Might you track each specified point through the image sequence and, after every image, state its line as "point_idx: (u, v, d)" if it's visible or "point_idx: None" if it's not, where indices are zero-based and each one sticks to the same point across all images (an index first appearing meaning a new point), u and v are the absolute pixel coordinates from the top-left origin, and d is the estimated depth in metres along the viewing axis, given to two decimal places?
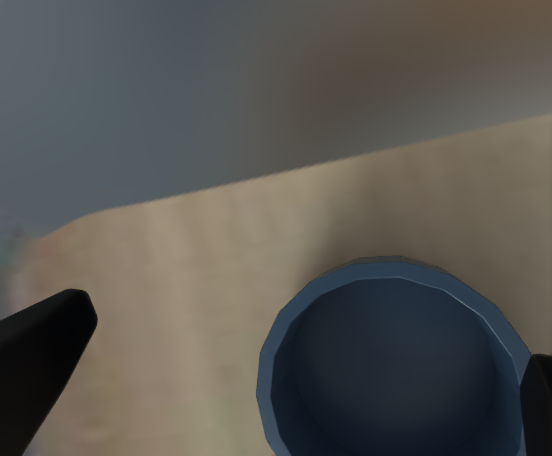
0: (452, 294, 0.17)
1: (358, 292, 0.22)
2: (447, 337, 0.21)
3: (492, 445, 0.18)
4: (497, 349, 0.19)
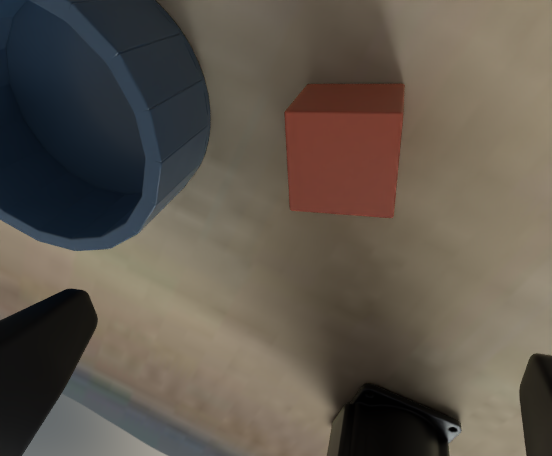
0: None
1: (25, 69, 0.21)
2: None
3: None
4: None
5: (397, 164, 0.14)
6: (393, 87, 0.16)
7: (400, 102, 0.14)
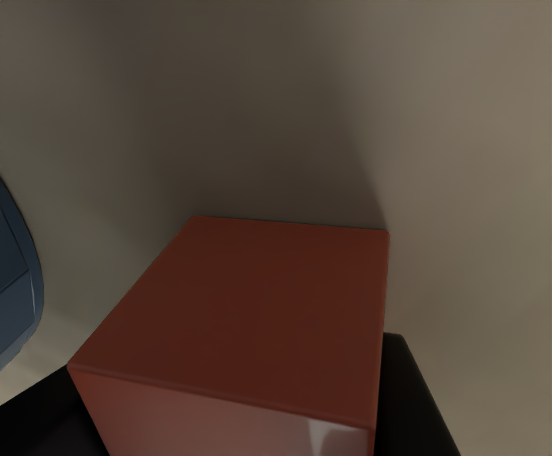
0: None
1: None
2: None
3: None
4: None
5: None
6: (363, 248, 0.07)
7: (372, 343, 0.05)
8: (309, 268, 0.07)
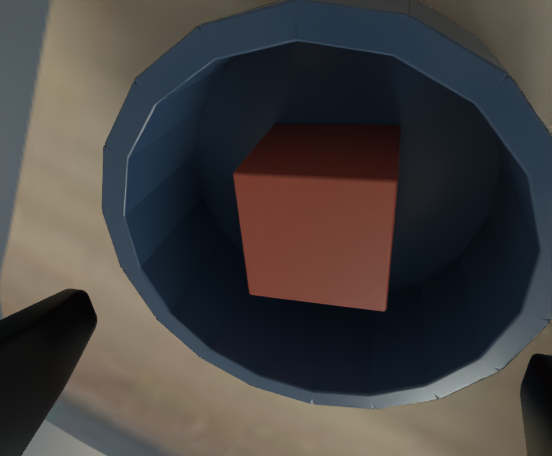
0: (227, 53, 0.08)
1: (225, 135, 0.14)
2: (362, 83, 0.12)
3: (513, 178, 0.10)
4: None
5: (390, 246, 0.10)
6: (385, 131, 0.12)
7: (394, 160, 0.10)
8: (354, 139, 0.12)
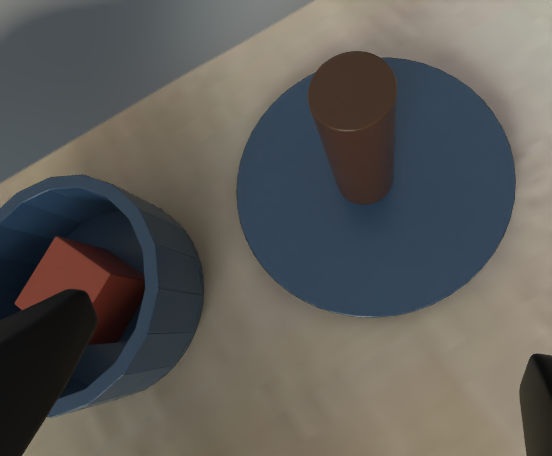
0: (84, 187, 0.21)
1: (81, 241, 0.26)
2: None
3: None
4: None
5: None
6: (141, 276, 0.23)
7: (123, 274, 0.21)
8: (124, 267, 0.23)
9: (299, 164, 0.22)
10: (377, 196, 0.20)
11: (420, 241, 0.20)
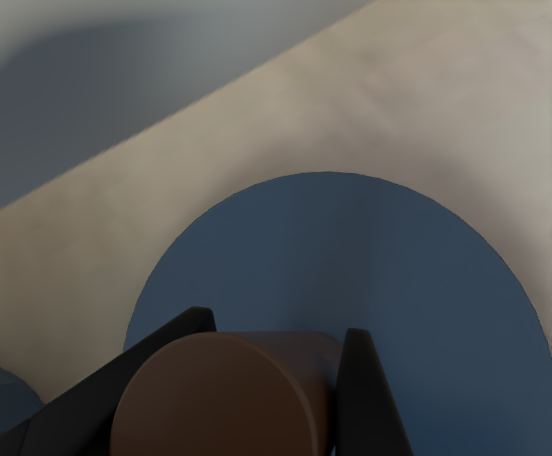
0: None
1: None
2: None
3: None
4: None
5: None
6: None
7: None
8: None
9: None
10: None
11: None
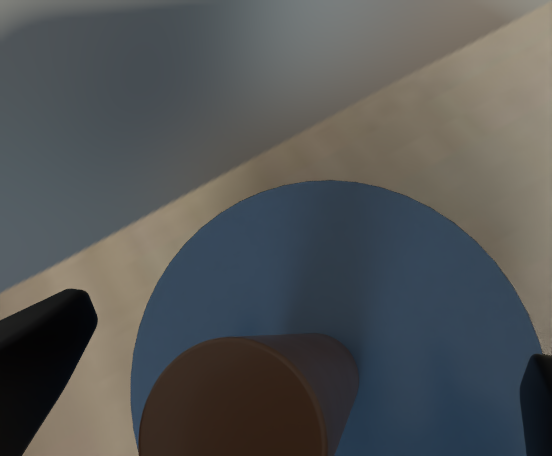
0: None
1: None
2: None
3: None
4: None
5: None
6: None
7: None
8: None
9: None
10: None
11: None
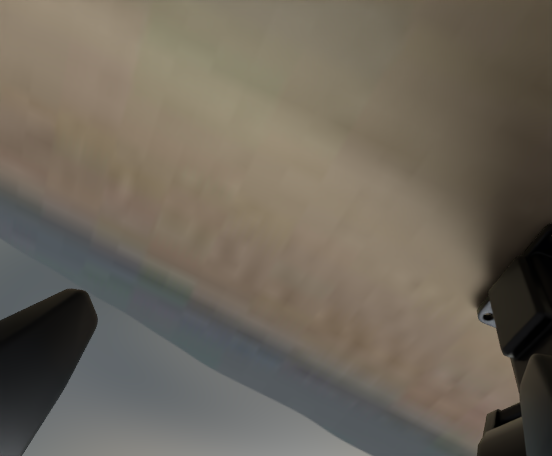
0: None
1: None
2: None
3: None
4: None
5: None
6: None
7: None
8: None
9: None
10: None
11: None
